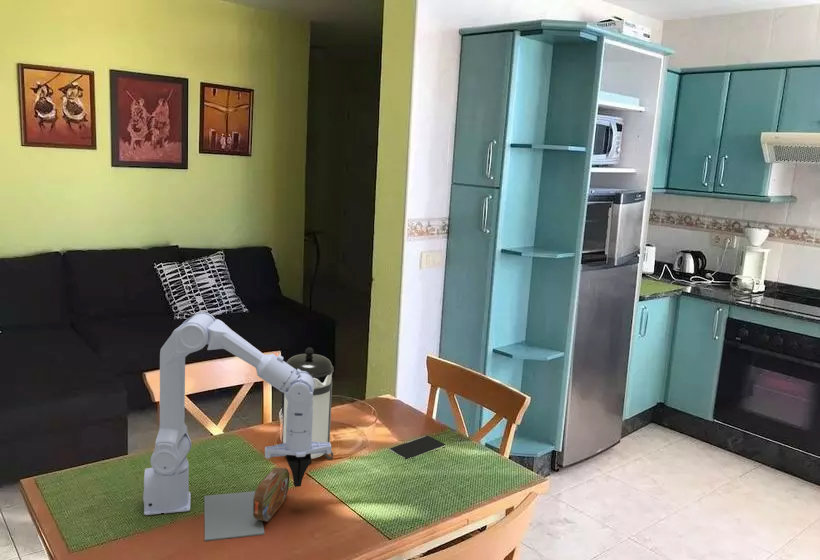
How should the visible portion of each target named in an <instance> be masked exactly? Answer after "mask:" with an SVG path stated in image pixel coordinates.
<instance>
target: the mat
mask: <svg viewBox="0 0 820 560" xmlns="http://www.w3.org/2000/svg"><path fill="white" fill-rule="evenodd" d="M255 492H256V490H253V491H243V492H231V493H221V494H220V493H219V494H207V495H203V499H204V500H203V501H204V503H203V504H204V505H203V506H204V507H203V508H204V512H203V513H204V542H208V541H210V542H211V541H218V540H227V539H236V538H245V537H253V536H255V537H256V536H261V535H262V536H264V535H265V529H264V528H265V527H264V522H263V520H257V519H255V518H254V516H253V499H254V495H255Z"/></svg>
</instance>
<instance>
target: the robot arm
mask: <svg viewBox="0 0 820 560" xmlns="http://www.w3.org/2000/svg"><path fill="white" fill-rule="evenodd" d="M206 345H207V351H212V350H225V351H227V352H229V353H230V354H232V355H233V356H236V358H237V357H238V359H240V360H242V361H244V362H245V363H247V364H249V365H250V366H252V367H254V368H255V371H256V376H257V377H259V378H260V379H262V380H263V381H264V382H266V383H268V384H269V385H270V386H272V387H274V388H275V389H276V390H278V391H279V392H281V393H282V392H283V393H285V396H286V399H287V401H288V407H287V419H286V443H283V444H282V443H279V444H275V445H271V446H265V447H264V457H265V458H264V459H271V458H273V457H275V458H276V457H285V458H286V462H287V465H288V466H289V469H290V471H291V473H292V481H293V486H294V488H295V487H301V486H302V482H303V479H304V476H305V473H306V471H307V469H308V467H309V466H310V465H311V462H312V459H311V454H317V453H326V454H327V455H331V451H332V444H331V442H312V422H313V407H312V405H313V400H312V398H313V391H314V388H315V382H314V379H313V377H312V376H311V375H310V374H309V373H308V372H305V371H301V370H300V369H297V370H296V369H294V368H293V367H292V366H290V365H289V364H287V361H285V360H284V356H282V355H280V354H278V355H275V354H274V353H269V354H264V353H263V352H262V351H260V350H259V349H258V348H256V347H255V346H253V345H252V344H251V343H250V342H248V341H247V340H246V339H244V338H243V337H242V336H240V335H239V334H238V333H237V332H235V331H234V330H232V328H230V327H229V326H228V325H227V324H225V322H223V321H222V320H220V319H218V318H215V317H214V316H213V315H212V314H211V313H208V312H205V311H202V312H201V311H200V312H197V313H195V314H193V315H192V316H190V317H188V318H186V320H184V321H183V322H182V324H180V325H179V326H178V327H176V328H175V329H174V330H173V331H172V332H171V335H170V336H169V337H168V338H167V340H166V341H165V342H164V344H163V345H162V347H161V348H160V350H159V351H160V352H159V429H158V432H157V436H156V439H155V442H154V450H153V452H152V454H151V456H150V465H151V467H148V468H147V467H146V468H145V469H144V477H143V495H142V496H143V497H142V501H143V510H144V511H143V515H144V516H152V515H153V516H154V515H162V514H161V513H164V514H172V513H182V512H183V513H184V512H189V511H191V496H192V493H191V492H190V491H189V487H190V485H189V481H190V479H189V478H190V476H189V475H190V474H189V473H190V472H189V471H190V469H189V467H190V464H189V463H190V462H189V460H188V458H187V455H188V453H189V452H190V451H191V449H192V440H191V438H190V436H189V433H188V426H187V424H186V423H185V405H186V403H185V402H186V401H185V399H186V397H185V394H186V391H185V390H186V357H187V356H188V355H189V354H192V353H194V352H195V353H196V352H198V351H200V350H203V348H204V347H206Z"/></svg>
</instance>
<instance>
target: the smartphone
mask: <svg viewBox="0 0 820 560" xmlns="http://www.w3.org/2000/svg"><path fill="white" fill-rule="evenodd" d="M444 445H445V446H446V443H444V442H442V441H440V440H438V439H435V438H434V437H432V436H429V435H424V436H422V437H418V438H415V439H413V440H410V441H407V442H405V443H402V444H398V445H396V446H393V447H390V448H389V449H388V451H389V450H390V451H392V452H394V453H396V454H398V455H400V456H402V457H405V458H407V459H408V458H409V459H410V457H411V458H412V457H415V456H418V455H421V454H423V453H426V452H428V451H431V450H434V449H437V448H440V447H442V446H444ZM390 451H389V452H390ZM392 452H391V453H392Z"/></svg>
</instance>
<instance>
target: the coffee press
mask: <svg viewBox="0 0 820 560" xmlns="http://www.w3.org/2000/svg"><path fill="white" fill-rule="evenodd" d="M286 363H287V364H289V365H290V366H292V367H293V368H294V369H296V370H297V369H300V370H301V371H305V372H308V373H309V374H310V375H311V376H312V377H313V379H314V382H315V388H314V391H313V398H312V400H313V405H312V407H313V422H312V442H330V441H331V421H332V420H331V418H332V416H331V415H332V396H333V392H332V391H333V377H332V376H333V373H334V368H335V367H334V366H333V365H332V362H331V360H330V359H329V358H327V357H326V356H324V355H321V354H317V353H315V351H314V348H312V347H307V348H306V349H305V351H304V353H300V354H296V355H293V356H291V357H290V358H288V360H287V361H286ZM281 395H282V396H281V397H282V398H281V414H282V440H281V441H282V442H281V444H283V443H286V419H287V407H288V401H287V399H286V396H285V393H283V392H281ZM330 443H331V442H330ZM322 456H324V457H325V458H326V459H327V460H329V461H331V460H332V459H333V458H334V453H333V451H332V450H331V454H330V455H329V454H326V453H317V454H311V460H312V459H317V458H320V457H322Z"/></svg>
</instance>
